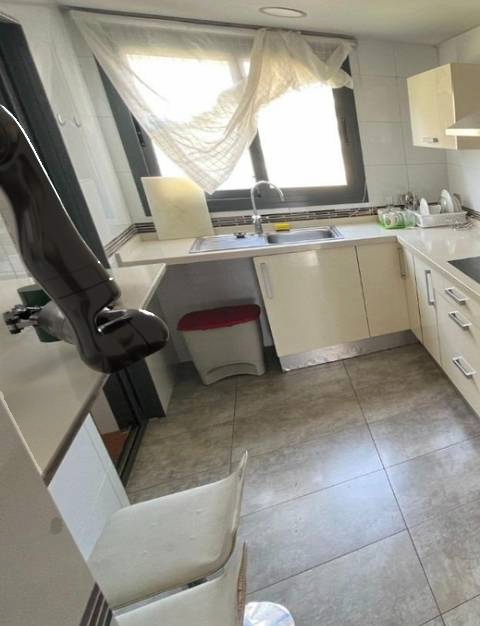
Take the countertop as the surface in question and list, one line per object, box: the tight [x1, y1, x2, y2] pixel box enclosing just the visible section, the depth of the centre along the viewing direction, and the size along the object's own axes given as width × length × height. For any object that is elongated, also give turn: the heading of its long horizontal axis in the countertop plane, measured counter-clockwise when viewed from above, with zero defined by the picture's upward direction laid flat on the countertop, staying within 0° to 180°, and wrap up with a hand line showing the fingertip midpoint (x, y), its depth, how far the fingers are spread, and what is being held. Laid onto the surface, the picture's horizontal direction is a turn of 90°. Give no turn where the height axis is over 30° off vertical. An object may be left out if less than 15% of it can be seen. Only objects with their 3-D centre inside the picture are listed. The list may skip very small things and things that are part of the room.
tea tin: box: [16, 283, 64, 344], centre depth 84 cm, size 5×5×10 cm
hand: (42, 304), depth 85 cm, fingers closed on tea tin, 5 cm apart
